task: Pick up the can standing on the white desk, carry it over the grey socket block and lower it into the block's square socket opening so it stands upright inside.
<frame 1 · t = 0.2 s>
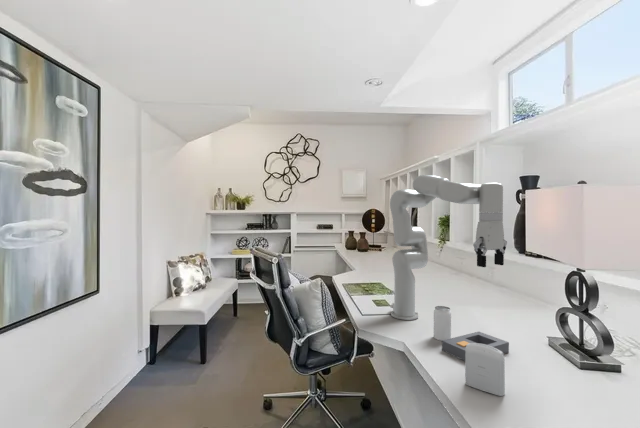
hand: (490, 265, 120), 31 cm above the table, tool pointing down, fingers open, 9 cm apart
photo printer: (484, 389, 95), on the table
grey socket block: (475, 351, 120), on the table
can: (442, 338, 132), on the table
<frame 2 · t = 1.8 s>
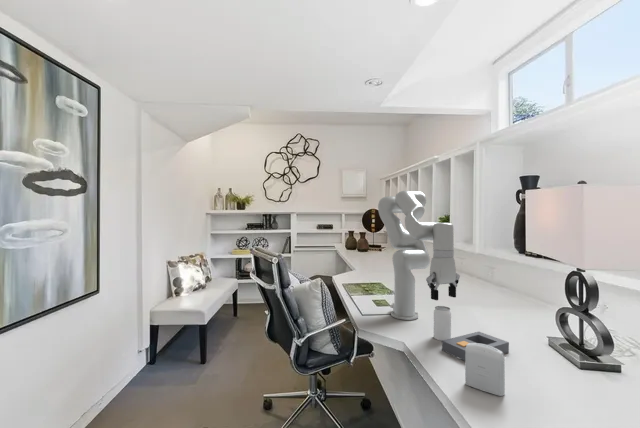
hand: (443, 298, 131), 16 cm above the table, tool pointing down, fingers open, 9 cm apart
nothing on the table moved.
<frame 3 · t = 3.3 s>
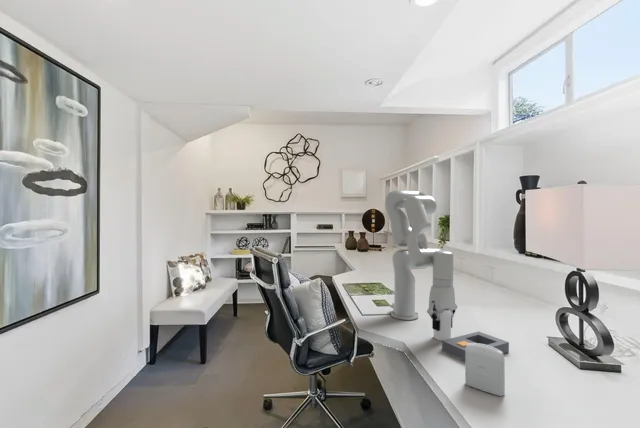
hand: (442, 327, 132), 4 cm above the table, tool pointing down, fingers closed on can, 6 cm apart
can: (442, 338, 132), on the table, touching gripper
everything else where it was.
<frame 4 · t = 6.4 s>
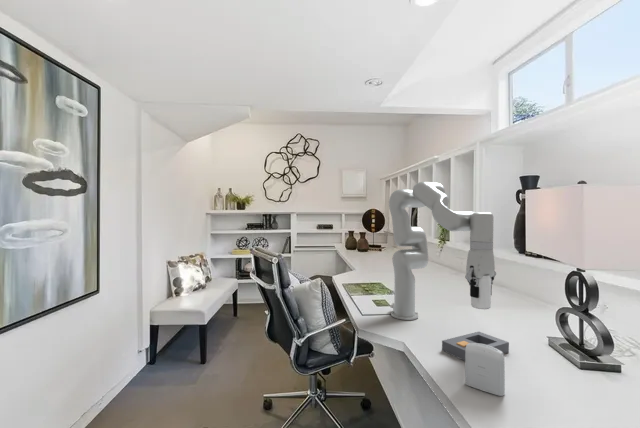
hand: (480, 295, 121), 20 cm above the table, tool pointing down, fingers closed on can, 6 cm apart
can: (480, 307, 121), point 15 cm above the table, touching gripper
everything else where it was.
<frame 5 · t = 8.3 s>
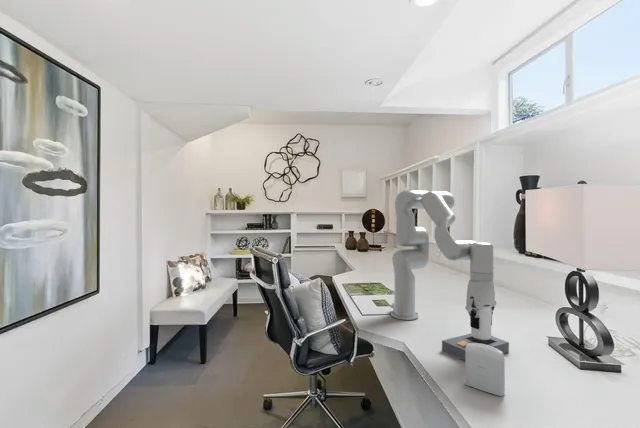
hand: (481, 325, 121), 9 cm above the table, tool pointing down, fingers closed on can, 6 cm apart
can: (481, 337, 121), point 4 cm above the table, touching gripper
everything else where it was.
when the fingers open (5 cm above the table, at t = 9.5 s): can drops 1 cm, resting in grey socket block.
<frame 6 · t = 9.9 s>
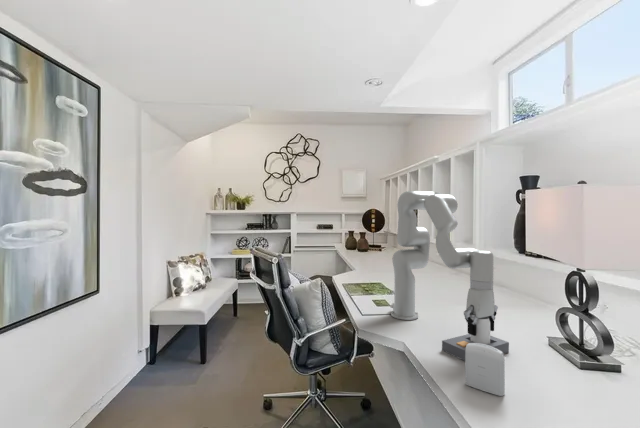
hand: (480, 332, 121), 6 cm above the table, tool pointing down, fingers open, 9 cm apart
can: (480, 350, 122), resting in grey socket block
everything else where it was.
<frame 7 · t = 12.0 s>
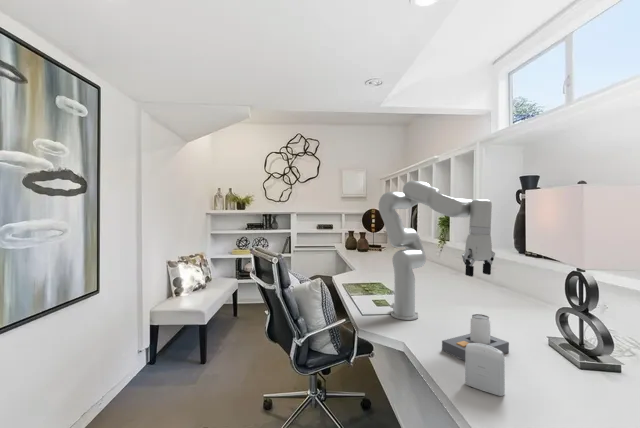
hand: (478, 275, 131), 25 cm above the table, tool pointing down, fingers open, 9 cm apart
nothing on the table moved.
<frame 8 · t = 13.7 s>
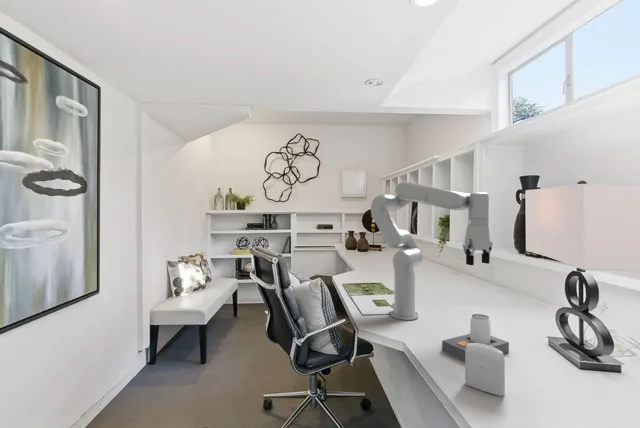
hand: (477, 264, 138), 28 cm above the table, tool pointing down, fingers open, 9 cm apart
nothing on the table moved.
at the end: can 0.2 cm from the target spot on the grey socket block, point 0.0 cm above the grey socket block's base; can tilted 0°; the gripper is holding nothing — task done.
